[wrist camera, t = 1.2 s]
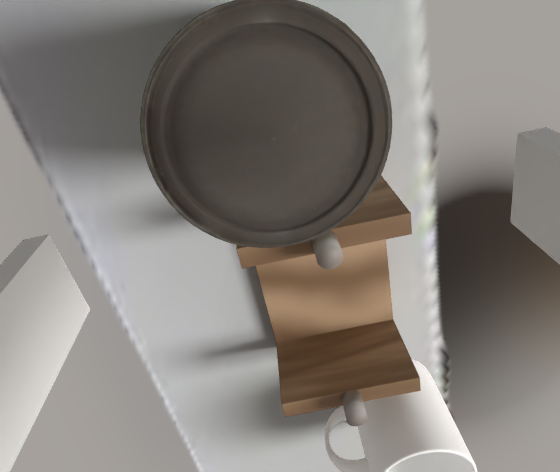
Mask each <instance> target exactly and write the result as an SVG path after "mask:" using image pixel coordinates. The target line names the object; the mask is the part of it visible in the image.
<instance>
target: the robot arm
mask: <svg viewBox="0 0 560 472" xmlns="http://www.w3.org/2000/svg"><path fill="white" fill-rule="evenodd" d="M511 223H512V224H513V225H514V226H516V227H517V228H518V229H519V230H520V231H521V232H523V233H524V234H525V235H526V236H527V237H528V238H530V239H531V240H532V241H533V242H534V243H535V244H536V245H538V246H539V247H540V248H541V249H543V250H544V251H545V252H546V253H547V254H548V255H549V256H550V257H552V258H553V259H554V260H555V261H556V262H557V263H559V264H560V133H558V132H556V131H554V130H551V129H549V128H547V127H545V128H541V129H536V130H531V131H526V132H522V133H518V135H517V147H516V160H515V173H514V185H513V198H512V211H511ZM89 311H90V308H89V306H88V304H87V303H86V301H85V299H84V297H83V295H82V294H81V292H80V290H79V288H78V286H77V284H76V282H75V281H74V279H73V277H72V275H71V273H70V272H69V270H68V268H67V266H66V264H65V262H64V261H63V259H62V257H61V255H60V253H59V251H58V250H57V248H56V246H55V244H54V242H53V241H52V239H51V237H50V235H49V234H48V235H44V236H39V237H34V238H30V239H25V240H23V241H22V242H21V243H20V244H19V245H18V246H17V247H16V248H15V249H14V250H13V252H12V253H11V254H10V255H9V256H8V257H7V258H6V259H5V260H4V261H3V262H2V264H1V265H0V472H10V470H11V468H12V466H13V464H14V462H15V460H16V458H17V456H18V454H19V452H20V450H21V448H22V446H23V444H24V442H25V440H26V438H27V436H28V434H29V432H30V430H31V428H32V426H33V424H34V421H35V420H36V418H37V415H38V414H39V412H40V410H41V408H42V405H43V404H44V401H45V399H46V397H47V395H48V393H49V391H50V389H51V387H52V385H53V383H54V381H55V379H56V377H57V375H58V373H59V371H60V369H61V367H62V365H63V363H64V361H65V359H66V357H67V355H68V353H69V351H70V349H71V347H72V345H73V343H74V341H75V339H76V337H77V335H78V333H79V331H80V329H81V327H82V325H83V323H84V321H85V319H86V317H87V315H88V313H89Z"/></svg>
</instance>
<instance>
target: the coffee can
mask: <svg viewBox="0 0 560 472" xmlns="http://www.w3.org/2000/svg"><path fill="white" fill-rule="evenodd" d="M140 124H141V137H142V144H143V150H144V154H145V157H146V160H147V163H148V166H149V169H150V171H151V174H152V176H153V178H154V180H155V182H156V184H157V186H158V187H159V189H160V190H161V192H162V193H163V195H164V196H165V197H166V199H167V200H168V201H169V203H170V204H171V205H172V206H173V207H174V208H175V209H176V210H177V212H179V213H180V214H181V215H182V216H183V217H184V218H185V219H186V220H187V221H189V222H190V223H191V224H193V225H194V226H196V227H197V228H199V229H200V230H202V231H204V232H205V233H207V234H209V235H211V236H213V237H215V238H218V239H220V240H223V241H226V242H229V243H232V244H236V245H241V246H246V247H256V248H275V247H284V246H290V245H295V244H299V243H303V242H307V241H309V240H312V239H314V238H317V237H319V236H321V235H323V234H325V233H327V232H329V231H331V230H332V229H334V228H335V227H337V226H338V225H340V224H341V223H342V222H344V221H345V220H346V219H347V218H348V217H349V216H351V215H352V214H353V213H354V212H355V211H356V210H357V209H358V208H359V207H360V205H361V204H362V203H363V202H364V201H365V199H366V198H367V197H368V196H369V194H370V193H371V191H372V190H373V188H374V187H375V185H376V184H377V182H378V180H379V178H380V176H381V174H382V171H383V169H384V166H385V163H386V160H387V156H388V152H389V148H390V142H391V134H392V109H391V101H390V95H389V91H388V88H387V85H386V82H385V79H384V76H383V74H382V71H381V69H380V67H379V65H378V64H377V62H376V60H375V58H374V56H373V55H372V53H371V52H370V50H369V49H368V48H367V46H366V45H365V44H364V43H363V41H362V40H361V39H360V38H359V37H358V36H357V35H356V34H355V33H354V32H353V31H352V30H351V29H350V28H349V27H348V26H347V25H346V24H345V23H343V22H342V21H340V20H339V19H338V18H336V17H334V16H333V15H331V14H329V13H328V12H326V11H324V10H322V9H320V8H318V7H316V6H313V5H311V4H308V3H305V2H301V1H297V0H234V1H231V2H228V3H225V4H222V5H219V6H217V7H214V8H212V9H210V10H209V11H207V12H205V13H203V14H201V15H200V16H198V17H196V18H195V19H193V20H192V21H191V22H190V23H188V24H187V25H186V26H185V27H184V28H183V29H181V30H180V31H179V32H178V33H177V34H176V35H175V36H174V37H173V39H172V40H171V41H170V42H169V43H168V44H167V46H166V47H165V49H164V50H163V51H162V53H161V54H160V56H159V58H158V59H157V61H156V63H155V65H154V66H153V69H152V71H151V73H150V75H149V78H148V81H147V84H146V87H145V91H144V95H143V100H142V108H141V117H140Z"/></svg>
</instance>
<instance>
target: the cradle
mask: <svg viewBox="0 0 560 472" xmlns="http://www.w3.org/2000/svg"><path fill="white" fill-rule="evenodd" d="M409 234H412V230H411V213H410V212H409V210H408V209H407V208H406V207H405V205H404V204H403V203H402V201H401V200H400V199H399V198H398V196H397V195H396V194H395V193H394V191H393V190H392V189H391V187H390V186H389V185H388V184H387V182H386V181H385V180H384V179H383V177H382V176H380V178H379V180H378V182H377V184H376V185H375V187H374V188H373V190H372V191H371V193H370V194H369V196H368V197H367V198H366V199H365V201H364V202H363V203H362V204H361V205H360V207H359V208H358V209H357V210H356V211H355V212H354V213H353V214H352V215H351V216H349V217H348V218H347V219H346V220H345V221H344V222H342V223H341V224H340V225H338V226H337V227H335V228H334V229H332V230H331V231H329V232H327V233H325V234H323V235H321V236H319V237H317V238H314V239H312V240H309V241H307V242H303V243H299V244H295V245H290V246H284V247H275V248H256V247H246V246H241V245H237V252H238V256H239V259H240V262H241V266H242V269H243V268H248V267H253V266H256V269H257V273H258V277H259V280H260V284H261V288H262V291H263V295H264V299H265V303H266V306H267V310H268V314H269V317H270V321H271V325H272V328H273V332H274V336H275V340H276V344H277V356H278V368H279V380H280V392H281V404H282V408H283V411H284V415H285V417H287V416H292V415H297V414H302V413H308V412H313V411H318V410H323V409H328V408H334V407H339V406H343V408H344V412H345V416H346V421H347V423H348V424H349V425H351V426H360V425H362V424H364V423H365V422H366V421H367V419H368V417H367V413H366V410H365V406H364V403H363V402H365V401H370V400H375V399H381V398H386V397H391V396H396V395H401V394H407V393H412V392H417V391H421V388H420V377H419V375H418V372H417V370H416V368H415V366H414V364H413V362H412V359H411V357H410V355H409V353H408V351H407V349H406V346H405V344H404V342H403V340H402V338H401V336H400V334H399V331H398V329H397V327H396V325H395V323H394V321H393V314H392V303H391V292H390V281H389V270H388V259H387V248H386V239H389V238H394V237H399V236H404V235H409Z"/></svg>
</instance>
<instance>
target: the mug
mask: <svg viewBox="0 0 560 472" xmlns="http://www.w3.org/2000/svg"><path fill="white" fill-rule="evenodd" d="M412 362H413V364H414V366H415V368H416V370H417V372H418V375H419V377H420V388H421V391H417V392H412V393H407V394H401V395H396V396H391V397H386V398H381V399H375V400H370V401H365V402H363V403H364V406H365V410H366V413H367V417H368V419H367V421H366V422H365V423H364V424H362V425H360V426H358V430H359V434H360V438H361V442H362V445H363V449H364V453H365V458H363V459H359V460H347V459H343V458H341V457H339V456H338V455H336V454H335V453H334V452H333V450H332V449H331V446H330V443H329V436H330V432H331V430H332V428H333V427H334V426H335V425H336V424H337V423H339V422H341V421H346V416H345V412H344V408H343V406H340V407H338V408H337V409H336V410H335V411H334V412H333V413H332V414H331V416H330V417H329V419H328V422H327V424H326V428H325V445H326V450H327V453H328V456H329V458H330V459H331V461H332V463H333V464H334V465H335V466H336V467H337V468H338V469H339V470H340V471H342V472H477V468H476V465H475V463H474V461H473V459H472V457H471V455H470V453H469V451H468V449H467V447H466V445H465V443H464V441H463V439H462V437H461V435H460V432H459V430H458V428H457V426H456V424H455V422H454V420H453V418H452V416H451V414H450V412H449V410H448V408H447V406H446V404H445V402H444V400H443V398H442V396H441V394H440V392H439V390H438V388H437V386H436V384H435V382H434V380H433V378H432V376H431V375H430V373H429V372H428V370H427V369H426V368H425V367H424V366H423V365H422V364H421V363H419V362H418V361H416V360H414V359H412Z"/></svg>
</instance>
